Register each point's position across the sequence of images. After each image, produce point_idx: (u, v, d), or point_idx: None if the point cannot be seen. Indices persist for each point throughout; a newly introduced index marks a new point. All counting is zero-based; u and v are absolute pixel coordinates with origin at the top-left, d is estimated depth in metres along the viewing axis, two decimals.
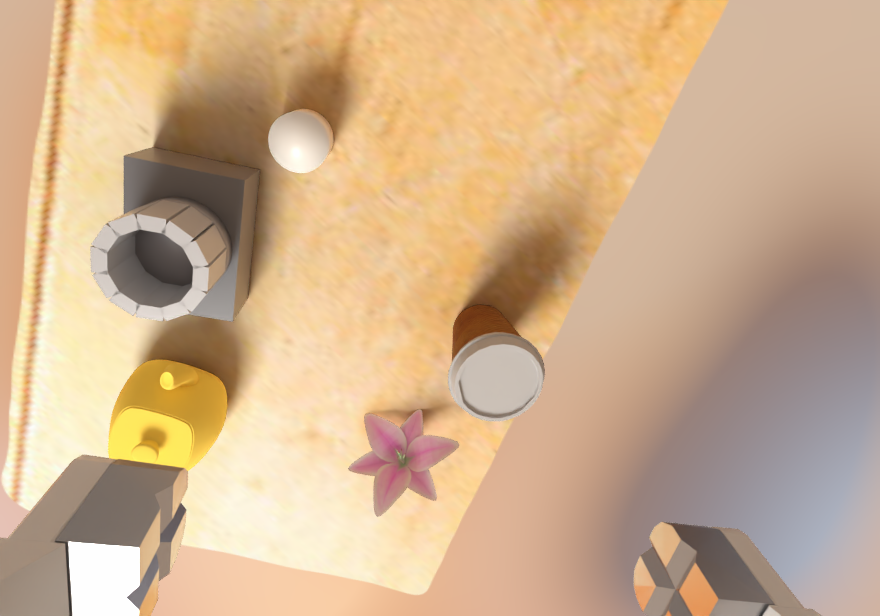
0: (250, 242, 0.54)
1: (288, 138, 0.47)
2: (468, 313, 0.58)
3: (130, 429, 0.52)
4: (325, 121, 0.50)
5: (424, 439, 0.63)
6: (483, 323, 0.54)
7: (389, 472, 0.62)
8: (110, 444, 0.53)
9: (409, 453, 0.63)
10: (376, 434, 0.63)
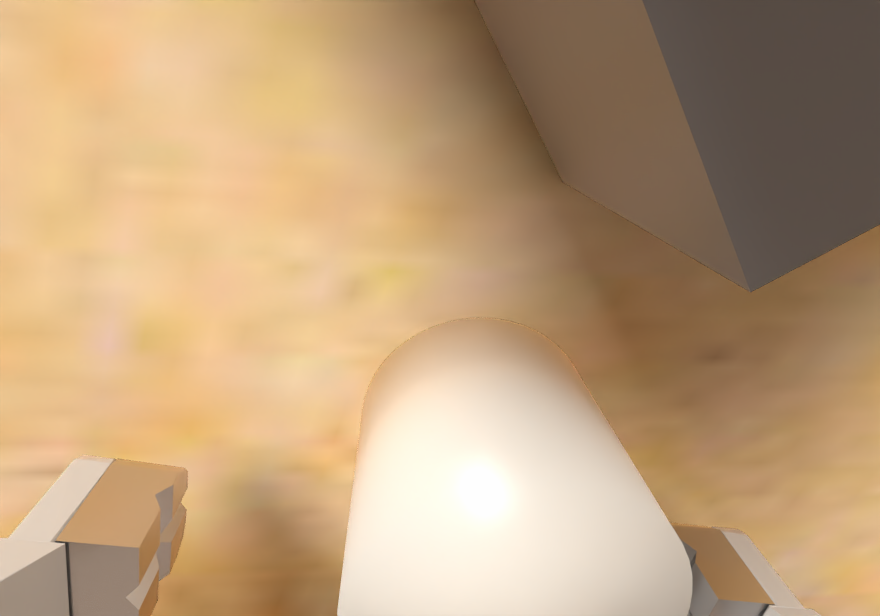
0: None
1: (574, 604, 0.08)
2: None
3: None
4: None
5: None
6: None
7: None
8: None
9: None
10: None
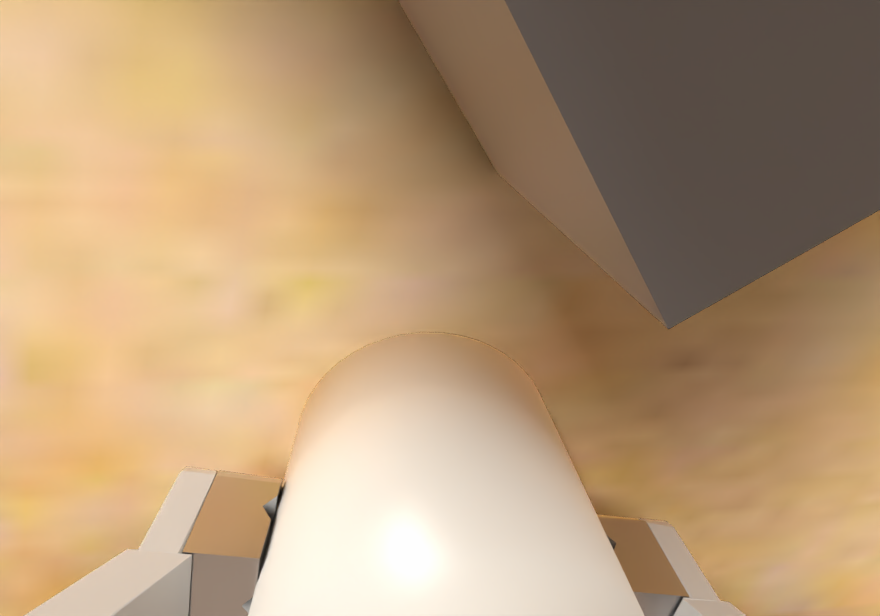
0: None
1: None
2: None
3: None
4: None
5: None
6: None
7: None
8: None
9: None
10: None
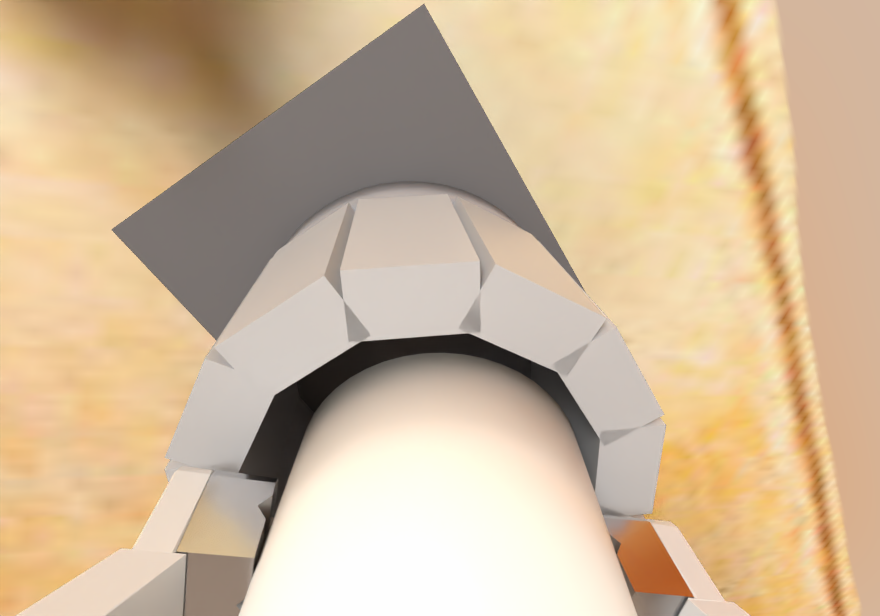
0: None
1: None
2: None
3: None
4: None
5: None
6: None
7: None
8: None
9: None
10: None
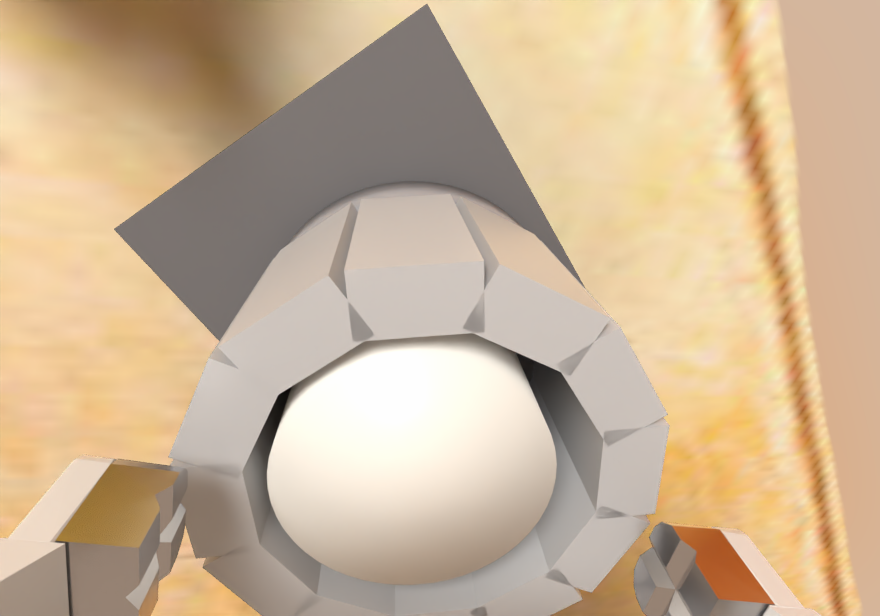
0: None
1: (461, 471, 0.10)
2: None
3: None
4: None
5: None
6: None
7: None
8: None
9: None
10: None
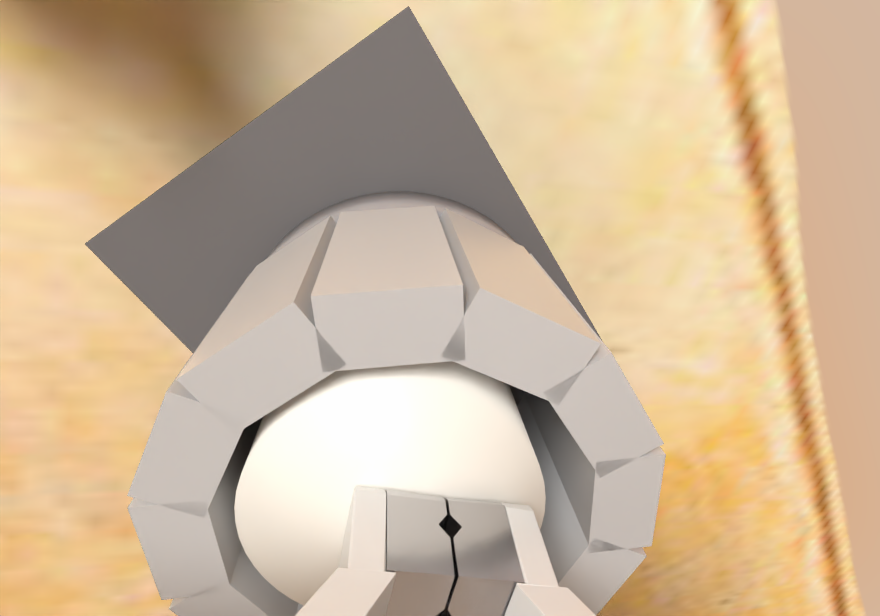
0: None
1: None
2: None
3: None
4: None
5: None
6: None
7: None
8: None
9: None
10: None
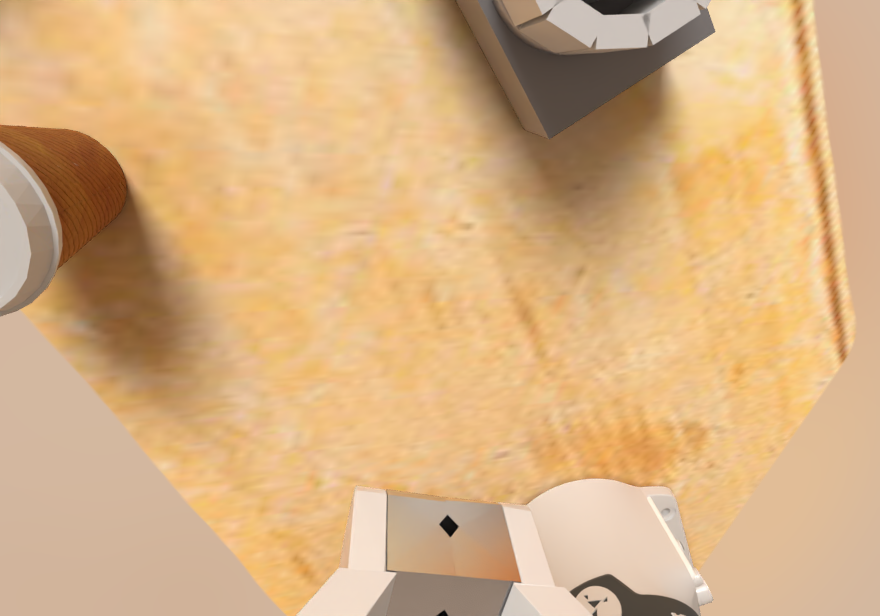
0: (471, 22, 0.31)
1: None
2: (116, 199, 0.33)
3: None
4: None
5: None
6: (82, 241, 0.29)
7: None
8: None
9: None
10: None
